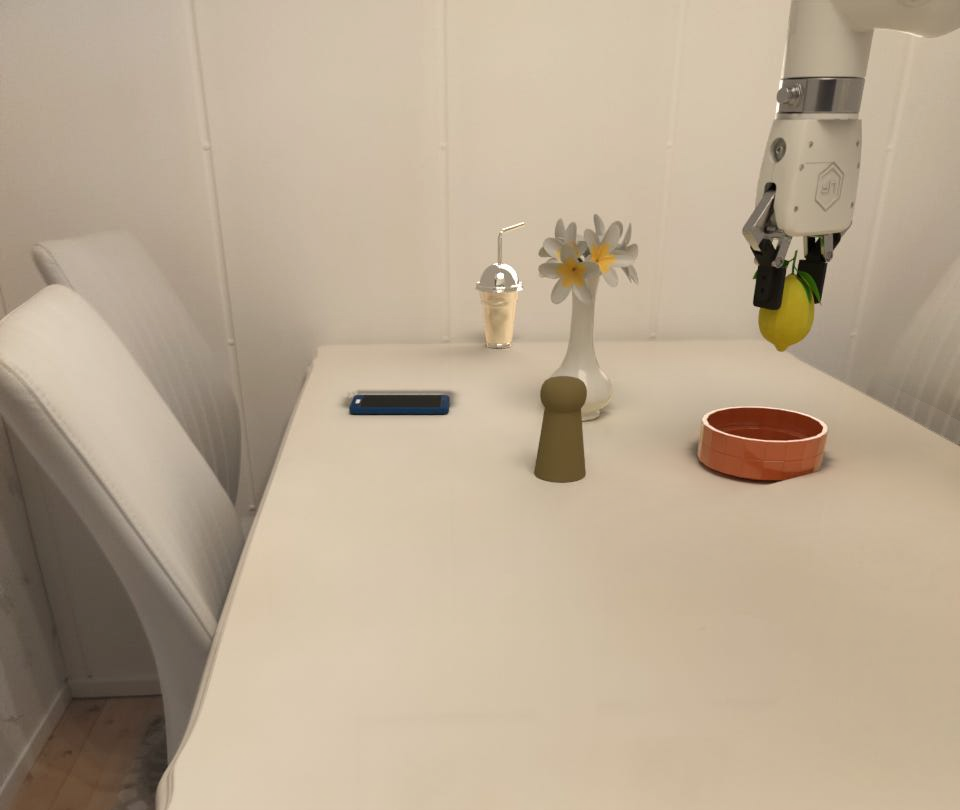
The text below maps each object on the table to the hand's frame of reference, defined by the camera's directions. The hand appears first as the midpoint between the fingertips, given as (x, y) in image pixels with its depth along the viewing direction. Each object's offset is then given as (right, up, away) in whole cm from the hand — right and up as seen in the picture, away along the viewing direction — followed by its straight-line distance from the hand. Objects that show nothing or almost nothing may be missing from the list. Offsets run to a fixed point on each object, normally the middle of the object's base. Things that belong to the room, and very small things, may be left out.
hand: (786, 303), depth 95 cm
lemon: (0, -4, +3) cm, 5 cm away
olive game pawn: (-23, -16, +12) cm, 30 cm away
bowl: (+1, -14, +15) cm, 20 cm away
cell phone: (-43, -2, +36) cm, 56 cm away
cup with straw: (-28, +18, +70) cm, 78 cm away
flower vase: (-18, -4, +32) cm, 37 cm away
